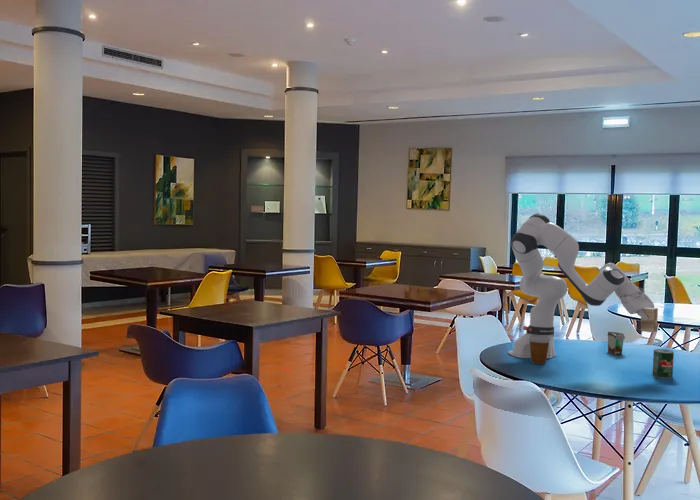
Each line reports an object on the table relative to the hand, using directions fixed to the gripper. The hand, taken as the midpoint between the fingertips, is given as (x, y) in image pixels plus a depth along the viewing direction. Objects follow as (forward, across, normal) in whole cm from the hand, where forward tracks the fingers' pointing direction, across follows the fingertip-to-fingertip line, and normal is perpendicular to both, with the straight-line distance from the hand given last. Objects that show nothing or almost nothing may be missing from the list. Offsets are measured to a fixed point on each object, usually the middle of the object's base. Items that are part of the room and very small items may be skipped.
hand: (650, 319), depth 298 cm
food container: (-4, +36, +39) cm, 53 cm away
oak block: (+3, 0, +4) cm, 5 cm away
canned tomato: (+21, 0, +13) cm, 25 cm away
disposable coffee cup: (-13, -18, +47) cm, 52 cm away
